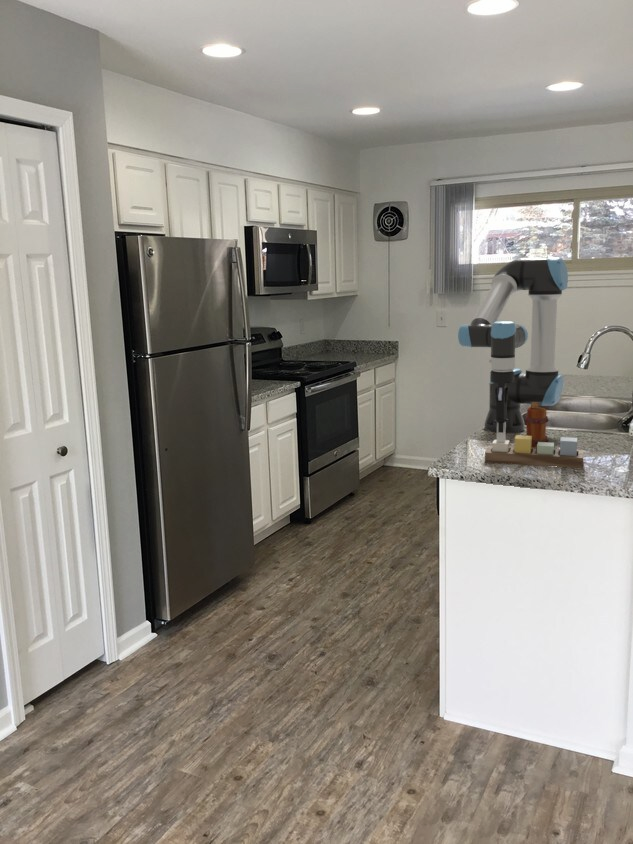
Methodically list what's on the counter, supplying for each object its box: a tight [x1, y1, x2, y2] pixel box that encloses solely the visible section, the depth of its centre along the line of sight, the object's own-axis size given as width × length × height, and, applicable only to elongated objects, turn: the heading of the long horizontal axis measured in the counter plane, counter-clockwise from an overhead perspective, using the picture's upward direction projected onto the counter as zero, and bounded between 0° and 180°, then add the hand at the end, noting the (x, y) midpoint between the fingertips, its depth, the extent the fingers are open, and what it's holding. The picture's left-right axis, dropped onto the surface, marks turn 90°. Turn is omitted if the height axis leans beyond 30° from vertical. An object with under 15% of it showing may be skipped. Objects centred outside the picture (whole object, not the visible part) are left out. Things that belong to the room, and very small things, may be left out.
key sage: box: [537, 441, 555, 455], centre depth 233 cm, size 5×5×5 cm
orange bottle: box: [524, 402, 550, 448], centre depth 252 cm, size 15×8×15 cm, turn 168°
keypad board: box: [484, 444, 584, 470], centre depth 234 cm, size 10×30×4 cm, turn 70°
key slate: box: [559, 436, 578, 456], centre depth 230 cm, size 5×5×5 cm
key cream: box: [491, 439, 511, 452], centre depth 237 cm, size 5×5×5 cm
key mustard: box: [513, 434, 532, 453], centre depth 235 cm, size 5×5×5 cm
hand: (500, 441), depth 237 cm, fingers closed
